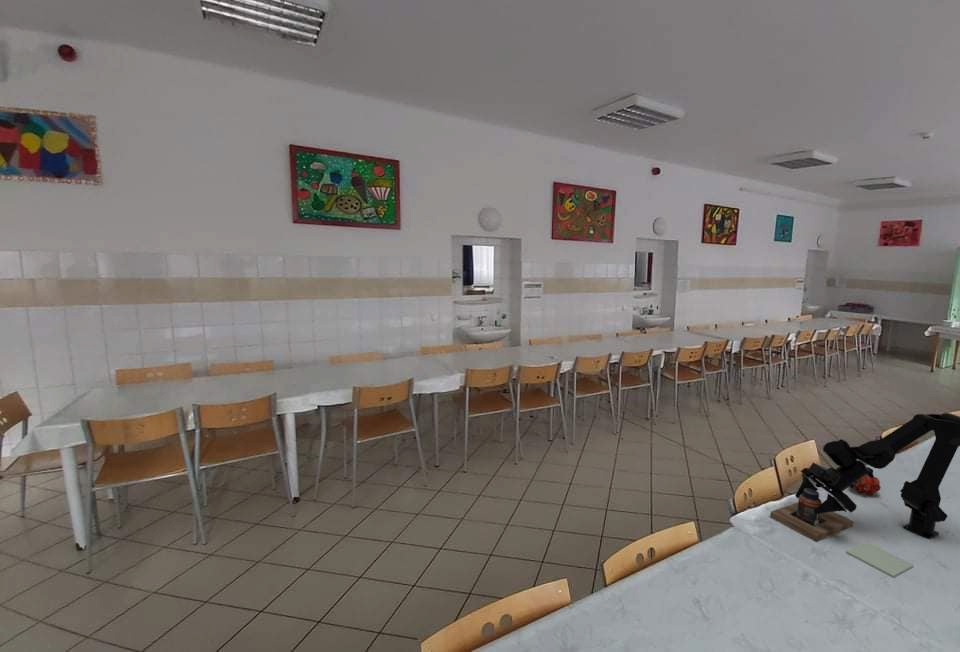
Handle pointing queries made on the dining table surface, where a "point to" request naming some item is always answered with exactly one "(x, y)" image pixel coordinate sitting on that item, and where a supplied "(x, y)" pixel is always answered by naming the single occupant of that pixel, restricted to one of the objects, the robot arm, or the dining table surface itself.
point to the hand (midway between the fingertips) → (805, 504)
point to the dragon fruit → (867, 485)
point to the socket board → (827, 526)
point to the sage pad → (880, 559)
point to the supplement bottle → (809, 507)
